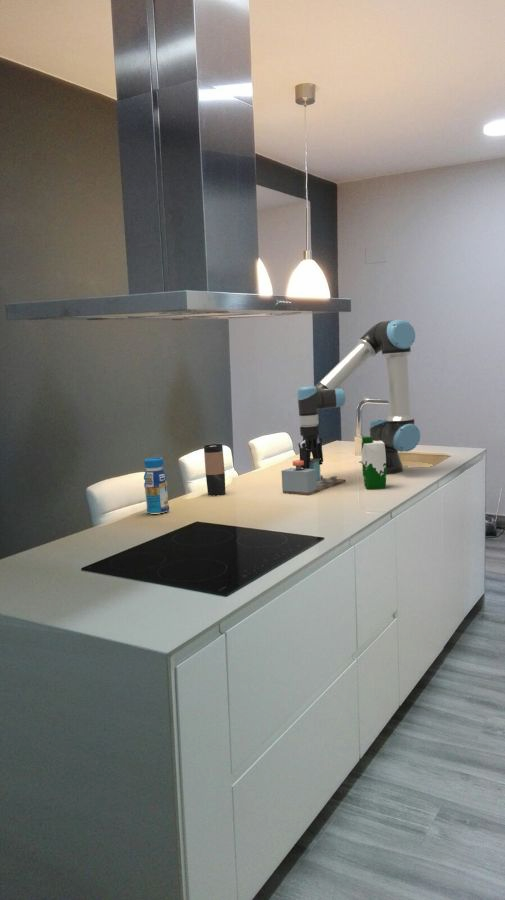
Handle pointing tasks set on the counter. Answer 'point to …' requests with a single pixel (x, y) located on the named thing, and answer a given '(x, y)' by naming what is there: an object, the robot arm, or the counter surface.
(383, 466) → the milk carton
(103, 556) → the counter surface
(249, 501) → the counter surface
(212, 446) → the travel mug
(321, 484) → the rail track
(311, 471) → the cabinet
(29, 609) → the counter surface
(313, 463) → the carriage
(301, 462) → the button
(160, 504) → the beverage bottle
